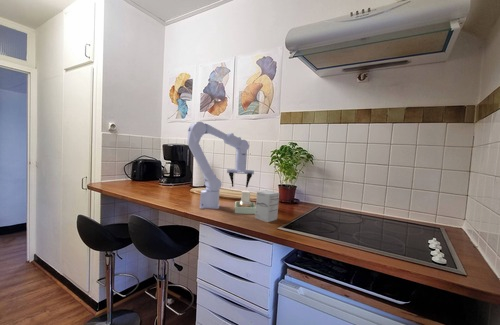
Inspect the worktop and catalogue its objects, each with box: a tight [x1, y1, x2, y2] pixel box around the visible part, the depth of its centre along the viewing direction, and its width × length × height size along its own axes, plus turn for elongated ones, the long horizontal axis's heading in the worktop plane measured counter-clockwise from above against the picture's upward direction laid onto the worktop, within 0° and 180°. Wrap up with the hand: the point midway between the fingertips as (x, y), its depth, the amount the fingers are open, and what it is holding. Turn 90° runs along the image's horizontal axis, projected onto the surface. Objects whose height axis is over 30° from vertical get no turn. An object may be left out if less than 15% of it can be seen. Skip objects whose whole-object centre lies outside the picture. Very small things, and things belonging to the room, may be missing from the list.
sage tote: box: [234, 200, 256, 215], centre depth 117 cm, size 10×12×4 cm
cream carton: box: [240, 190, 251, 202], centre depth 117 cm, size 4×4×5 cm
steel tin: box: [239, 199, 252, 207], centre depth 118 cm, size 6×6×4 cm
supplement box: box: [254, 189, 280, 223], centre depth 104 cm, size 7×7×13 cm
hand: (239, 186), depth 127 cm, fingers open, 7 cm apart
